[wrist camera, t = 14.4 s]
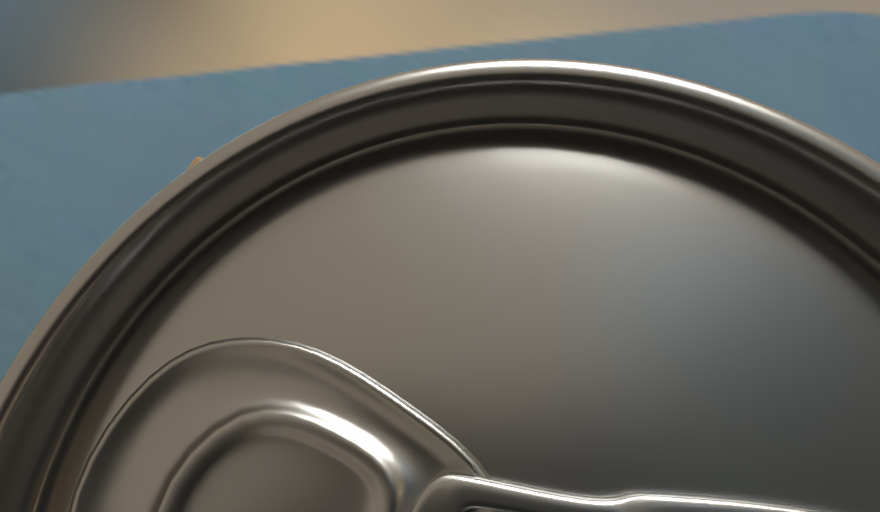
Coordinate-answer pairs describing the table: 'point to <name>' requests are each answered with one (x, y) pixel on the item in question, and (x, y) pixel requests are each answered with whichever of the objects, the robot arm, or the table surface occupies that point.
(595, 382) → the can
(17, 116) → the table surface
